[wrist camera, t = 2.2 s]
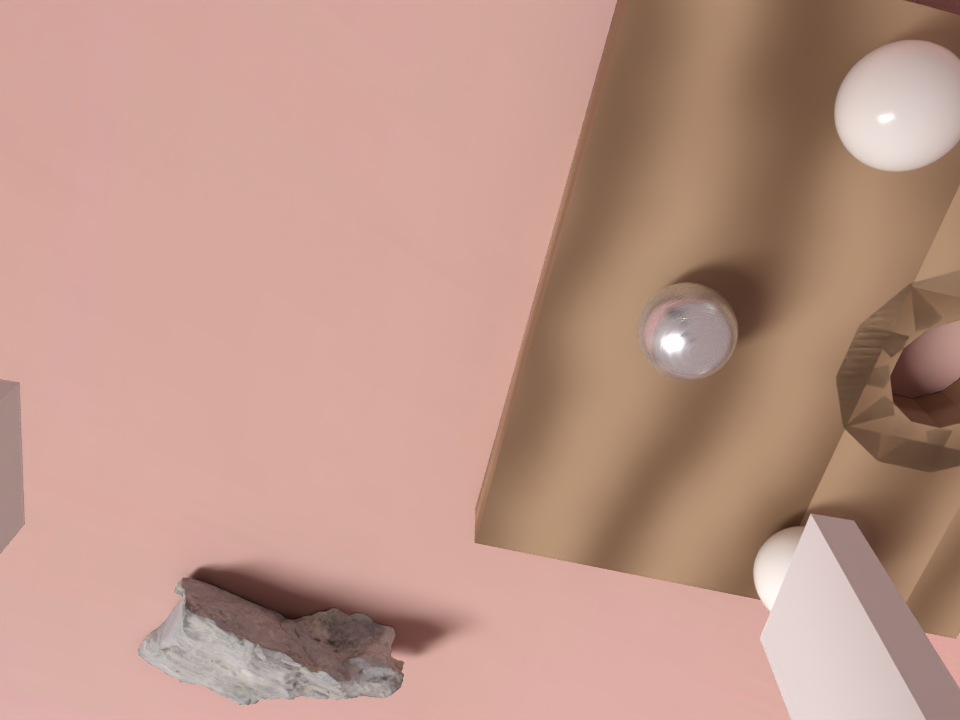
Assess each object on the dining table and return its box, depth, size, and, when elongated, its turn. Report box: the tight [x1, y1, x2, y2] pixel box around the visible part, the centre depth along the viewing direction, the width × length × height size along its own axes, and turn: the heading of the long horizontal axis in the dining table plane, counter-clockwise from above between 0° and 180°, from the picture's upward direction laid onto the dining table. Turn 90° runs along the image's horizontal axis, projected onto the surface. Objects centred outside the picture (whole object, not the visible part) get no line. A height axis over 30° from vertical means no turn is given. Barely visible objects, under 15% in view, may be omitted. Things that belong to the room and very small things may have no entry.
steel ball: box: [637, 282, 738, 381], centre depth 32 cm, size 4×4×4 cm
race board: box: [475, 0, 960, 639], centre depth 35 cm, size 22×24×2 cm
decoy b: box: [753, 526, 805, 612], centre depth 36 cm, size 4×4×4 cm
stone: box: [138, 578, 404, 705], centre depth 42 cm, size 6×12×4 cm, turn 72°
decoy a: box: [834, 40, 960, 172], centre depth 28 cm, size 4×4×4 cm
